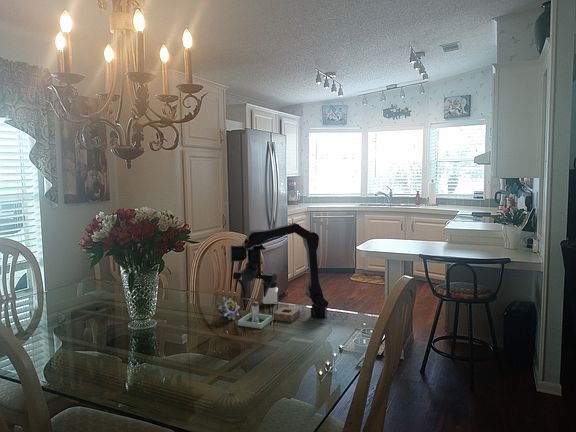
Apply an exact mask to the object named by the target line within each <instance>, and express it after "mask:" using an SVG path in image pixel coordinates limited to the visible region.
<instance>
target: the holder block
mask: <svg viewBox="0 0 576 432" xmlns="http://www.w3.org/2000/svg"><path fill="white" fill-rule="evenodd" d="M272 314H273V315H272V321H273V320H274V321H280V322H289V323H293V322H294V321H295V320H297V318H299V317H300V316H301V309H300V308H293V307H285V306H281V307H280V308H278V309H276V310H275V311H274V312H272Z"/></svg>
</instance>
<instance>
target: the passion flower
mask: <svg viewBox="0 0 576 432" xmlns="http://www.w3.org/2000/svg"><path fill="white" fill-rule="evenodd" d="M237 303H238V302H237V301H236V300H232V298H231V297H230V298H225V297H224V296H222V302H221V303H220V302H217V304H216V305H215V307H216V309H217V313H219V316H220V318H221V317H222V318H225V317H226V318H227V320H228V321H235V320H236V316H238V317H239V316H240V313H239V311H240V307H241V306H240V305H238V304H237Z"/></svg>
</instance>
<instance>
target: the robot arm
mask: <svg viewBox="0 0 576 432" xmlns="http://www.w3.org/2000/svg"><path fill="white" fill-rule="evenodd" d="M291 234H296V235H298V237H299V236H300V238H302V243H303V246H304V247H305V251H306V262H307V272H308V285H304V288H305V295H306V296H307V299H308V300H310V301H311V303H312V304H311V307H310V317H313V318H315V319H326V318H327V317H328V307H329V301H327V300H326V299H325V298H324V293H323V289H322V287H321V284H320V280H319V277H320V276H319V267H318V249H319V244H320V237H319V234H318V233H316V232H314V231H311V230H307V229H306V228H304V227H302V226H301V225H300V224H298V223H296V222H291V223H290V224H285V225H282V226H281V225H280V226H276V227H273V228H269V229H252V230H249V231H248V232H247V234H246V237H245V240H243V242H242V244H241V245H240V244H239V245H233V244H232V245H230V249H229V261H230V262H232V263H233V262H244V261H245V260H246V259H247V262H246V264H245V268H243V269H239V270H236V271H234V272H233V273H232V279H233V280H235V281H236V282H238V283H239V284H240V286H241V288H242V292H243V294H244V295H245V296H247V294H248V282H252V281H253V280H254V279H259V280H262V281H263V282H262V286H263V291H264V292H262V295H263V294H264V297H266V294H267V292H268V289H269V287H270V285H271V283H272V282H274V281H275V280H276V281H277V280H278V275H277V274H276V273H275V272H267V273H265V274H263V273H264V272H263V270H262V265H263V261H262V251H265V250H266V249H267V248H266V247H265V246H264V245H263V243H265V242H266V241H268V240H271V239H274V238H275V239H276V238H279V237H283V236H286V235H287V236H288V235H291Z"/></svg>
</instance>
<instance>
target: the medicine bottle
mask: <svg viewBox="0 0 576 432" xmlns="http://www.w3.org/2000/svg"><path fill="white" fill-rule="evenodd" d="M277 283H278V281H277V280H275V281H274V282H272V283H271V285H270V287H269V289H268V292H267V294H266V297H264V294H263V292H264V290H263V292H262V301H263V302H262V303H263V304H264V305H272V304H273V305H274V304H275V305H277V304H279V287H278V286H277ZM274 302H276V303H274Z"/></svg>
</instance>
